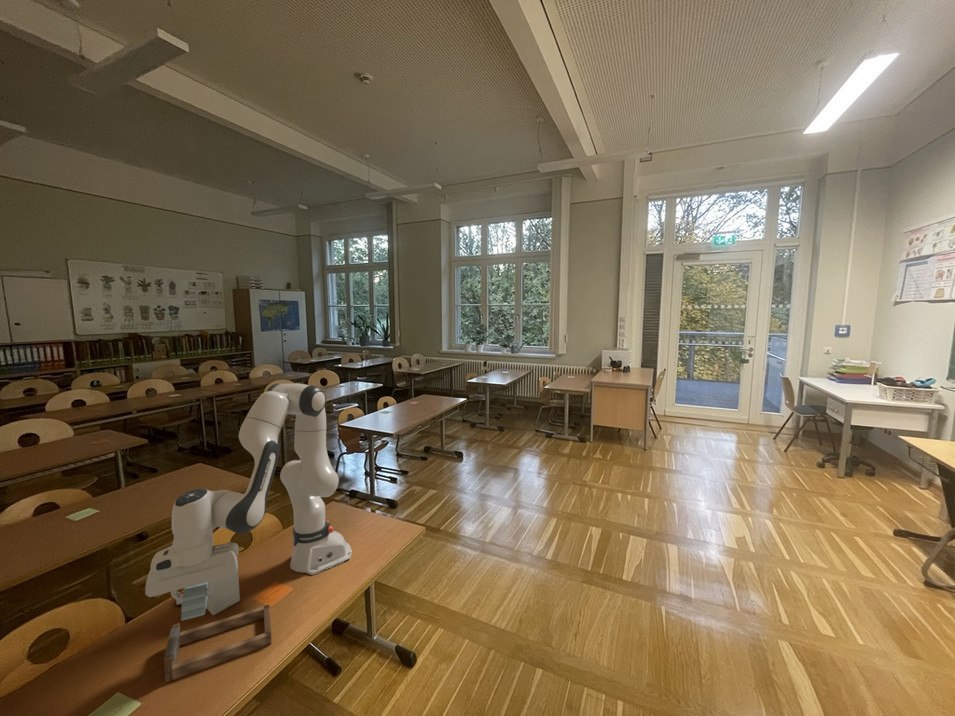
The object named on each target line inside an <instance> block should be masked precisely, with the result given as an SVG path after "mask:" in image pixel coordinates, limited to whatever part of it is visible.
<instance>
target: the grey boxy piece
mask: <svg viewBox="0 0 955 716" xmlns="http://www.w3.org/2000/svg"><path fill="white" fill-rule="evenodd" d="M207 587H208V582H206V583H202V584H198V585H194V586H191V587H187V588H183V589H184V590H183V591H184V593H183V597H182V605H181V616H180V618H181V621H186V620H190V619H194V618H198V617H202V616H205V613H206V610H207V608H206V604H207V596H206V588H207Z"/></svg>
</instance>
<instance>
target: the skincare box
mask: <svg viewBox="0 0 955 716" xmlns="http://www.w3.org/2000/svg"><path fill="white" fill-rule="evenodd" d="M237 562H238V563H239V561H238V559H237ZM239 579H240V578H239V569H238V570H237V572H236V573H235V575H232V576H228V577H225V578H221V579H217V583H216V585H215V586H214V588H213V594H212V595H210V596H207V604H206V610H207V611H208V612H209V613H210V614H211V615H212V616H215V615H217V614H218V613H220V612H222V611H224V610H226V609H228V608H229V607H231V606H233V605H234V604H237V603H238V602H240V601H241V597H240V583H239V582H240V581H239ZM210 585H211V581H210V582H208V587H210Z"/></svg>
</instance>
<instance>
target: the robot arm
mask: <svg viewBox="0 0 955 716" xmlns="http://www.w3.org/2000/svg"><path fill="white" fill-rule="evenodd" d="M326 402H327V396H326V393H325V391H324V390H323V389H322V388H321V387H319V386H316V385H312V384H311V385H309V384H305V383H299V382H295V383H285V382H280V383H279V382H277V383H274V384H272V385H270V386H269V387H268V388H267V389H266V391H265V392H262V393H261V394H260V395H259V396H258V398H257V399H256V400H255V402H254V403H253V405H252V406H251V408H250V410H249V411H248V412H247V414H246V417H245V418H244V420H243V422H242V423H241V426H240V428H239V429H240V430H239V431H238V441H239V442H240V444H241V446H242V447H243V448H244V449H245V450H246V451H247V452H248V453H250V454H251V455H252V457H253V459H254V467H253V469H252V470H253V471H252V474H251V477H250V480H249V482H248V486H247V489H246V491H245V492H244V493H241V492H237V491H232V490H228V489H217V490H209V489H206V488H201V487H200V488H195V489H191V490H188V491H186V492H184V493H182V494H180V495H179V496H178V497H177V498H176V499H175V501H174V503H173V506H172V511H171V532H172V535H173V541H172V545H170V546H168V547H165V548H164V549H162V550H159V551H157V552H156V553H155V555H154V556H153V558H152V560H151V563H150V570H149V572H148V574H147V578H146V580H145V581H146V582H145V588H144V589H145V592H144V594H145V595H146V596H147V597H148V598H152V597H156V596H160V595H163V594H167V593H170V596H171V597H172V598H174V600H176V605H177V606H179V605H178V604H181V603H182V597H183V594H181V592H179V590H183V589H185V588H187V587H191V586H194V585H198V584H202V583H206V582H210V581H211V585H210V587H207V588H206V596H210V595H212V594H213V588H214V586H215V585H216V583H217V579H221V578H225V577H228V576H232V575H235V573H236V572H237V570H238V571H239V561H238V562H237V560H238V554H239V551H240V550H239V548H240V547H239V544H237V543H236V542H232V541H231V542H227V543H220V544H216V545H214V534H213V531H214V530H215V529H216V528H218V527H219V528H222V529H226V530H229V531H231V532H232V533H236V534H239V535H244V534H247V533H249V532H251V531H253V530H254V529H256V528H257V526H259V525H260V524H261V523H262V521H263V520H264V517H265V515H266V509H267V502H268V496H269V492H270V490H271V489H270V488H271V485H272V482H273V479H274V476H275V473H276V468H277V466H278V460H279V457H280V450H281V449H280V446H279V444H278V443H279V442H278V441H279V435H280V432H281V430H282V428H283V426H284V423H285V420H286V417H287V416H288V415H292V416H293V415H295V420H294V421H295V423H294V444H293V445H294V446H293V447H294V448H293V449H294V451H295V453H296V455H297V456H298V458H299V460H298V459H295V460H290V461H288V462H287V463H285V465H283V467H282V469H281V471H280V474H279V476H280V477H279V478H280V481H281V483H282V484H283V486H284V487H285V488H286V490H287V493H288V496H289V499H290V502H291V505H292V509H293V510H292V511H293V529H292V544H293V550H292V555H291V556H292V557H291V560H290V564H289V567H290V569H291V570H293V571H294V572H296V573H304V574H305V573H306V574H308V575H312V576H314V575H316V574H319V573H321V571H322V572H324V571H326V570H328V568H329V569H331V568H333V566H334V567H336V566H338V565H337V564H339V565H341V564H343V563H345V562H344V561H346V560H348V559H350V557H351V555H352V556H353V551H352V547H351V545H350V544H349V543H348V542H347V541H346V540H345V538H344V536H343V535H342V534H341V533H340V532H338V531H335V530H334V527H333V526H332V524H331V523H330V521H329V520H326V504H325V502H324V500H323V499H322V498H328V497H331V496H332V495H333V494H334V493H335V492H336V490H337V489H338V486H339V482H340V480H339V479H340V478H339V475H338V473H337V472H336V471H335V469H334V468H333V465H332V463H331V460H330V457H329V455H328V450H327V413H326ZM349 553H350V554H349ZM348 554H349V555H348ZM351 558H352V557H351ZM350 560H351V559H350ZM348 561H349V560H348ZM342 562H343V563H342ZM346 562H347V561H346ZM340 563H341V564H340ZM335 565H336V566H335ZM325 569H326V570H325ZM323 570H324V571H323Z"/></svg>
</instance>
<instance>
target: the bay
mask: <svg viewBox="0 0 955 716" xmlns="http://www.w3.org/2000/svg"><path fill="white" fill-rule="evenodd" d="M270 612H271V611H270V604H266V605H263V606H260V607H257V608H253V609H249V610H247V611H242V612H241V613H238V614H234V615H231V616H229V617H225V618H222V619H219V620H215V621H212V622H210V623H206V624H203V625H200V626H197V627H194V628H189V629H187V630H184V631H181V624H180V622H178V623H175V624H173V625H172V628H171V629H170V632H169V636H168V641H167V643H166V648H165V651H164V656H163V662H164V664H163V665H164V683H165V684H166V683H168V682H171V681H174V680H177V679H179V678H183V677H186V676H188V675H190V674H193V673H196V672H199V671H202V670H204V669H207V668H210V667H212V666H213V667H214V665H215V666H216V665H218V664H220V663H224V662H227V661H229V660H232V659H235V658H237V657H240V656H243V655H246V654H248V653H250V652H251V653H252V652H254V651H257V650H260V649H262V648H265V647H268V646H270V645H272V628H271V613H270ZM262 619H263V623H264V633H261V634H258V635H255V636H252V637H249V638H246V639H244V640H241V641H238V642H236V643H232V644H229V645H226V646H224V647H220V648H218V649H215V650H213V651H212V650H211V651H210V652H206V653H203V654H200V655H198V656H195V657H192V658H189V659H187V660H184V661H180V662H177V661H178V657H179V651H180V649H181V646H184V645H187V644H189V643H193V642H196V641H199V640H202V639H206V638H208V637H211V636H214V635H217V634H221V633H223V632H226V631H229V630H233V629H235V628H239V627H242V626H244V625H247V624H251V623H254V622H256V621H259V620H262Z"/></svg>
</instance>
